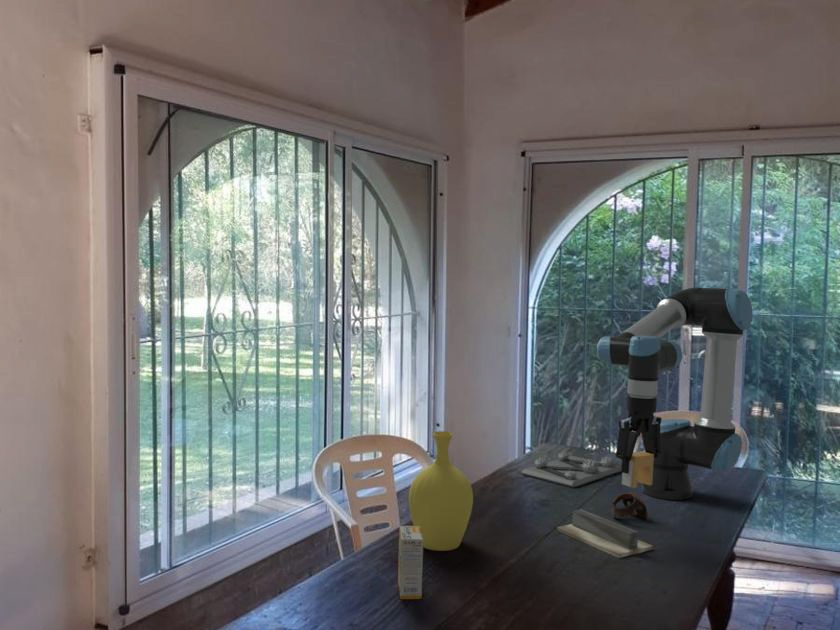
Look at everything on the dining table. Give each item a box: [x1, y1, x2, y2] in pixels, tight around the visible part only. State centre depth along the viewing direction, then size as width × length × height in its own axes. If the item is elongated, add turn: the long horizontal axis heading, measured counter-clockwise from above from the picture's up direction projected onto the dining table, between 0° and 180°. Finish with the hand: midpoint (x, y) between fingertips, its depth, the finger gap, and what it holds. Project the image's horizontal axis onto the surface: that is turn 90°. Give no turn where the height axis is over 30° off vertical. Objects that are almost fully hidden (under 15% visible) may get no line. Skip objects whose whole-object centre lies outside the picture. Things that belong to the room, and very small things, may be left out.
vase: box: [408, 430, 474, 552], centre depth 201 cm, size 16×16×28 cm
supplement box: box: [397, 525, 424, 600], centre depth 172 cm, size 8×5×13 cm, turn 5°
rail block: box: [556, 508, 654, 559], centre depth 208 cm, size 12×22×5 cm, turn 33°
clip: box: [630, 450, 654, 489], centre depth 209 cm, size 7×4×8 cm, turn 124°
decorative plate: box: [521, 451, 622, 489], centre depth 272 cm, size 30×22×7 cm
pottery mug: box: [611, 492, 649, 522], centre depth 227 cm, size 12×10×8 cm
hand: (637, 483), depth 209 cm, fingers closed on clip, 7 cm apart
